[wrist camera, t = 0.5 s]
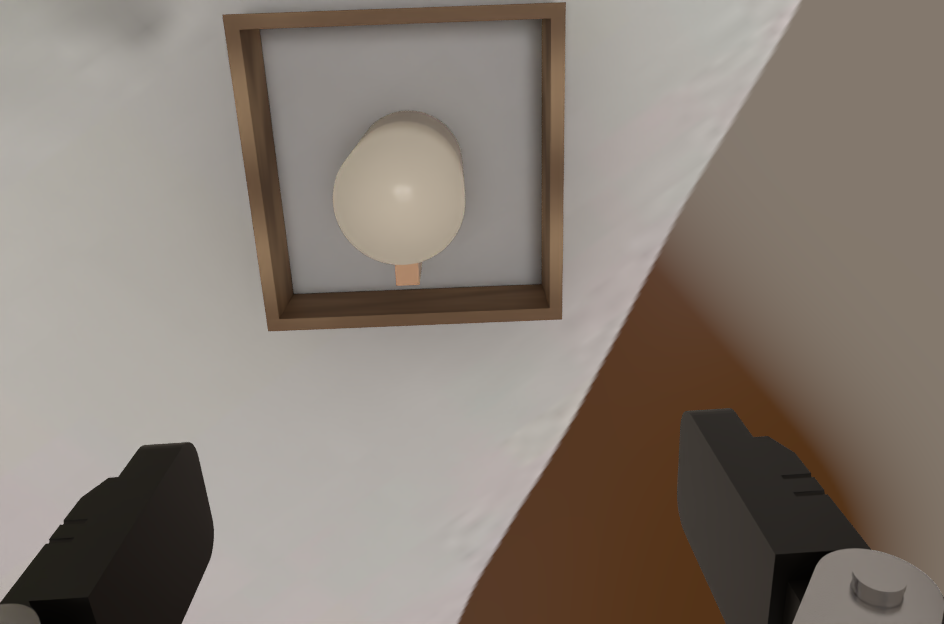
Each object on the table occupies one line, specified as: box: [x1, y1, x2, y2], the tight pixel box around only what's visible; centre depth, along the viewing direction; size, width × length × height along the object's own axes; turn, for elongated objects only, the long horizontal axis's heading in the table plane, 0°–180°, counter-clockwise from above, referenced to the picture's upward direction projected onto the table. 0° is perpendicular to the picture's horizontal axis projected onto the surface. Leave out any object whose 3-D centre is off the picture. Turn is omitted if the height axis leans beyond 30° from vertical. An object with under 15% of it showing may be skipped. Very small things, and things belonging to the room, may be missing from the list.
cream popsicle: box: [333, 111, 465, 286], centre depth 33 cm, size 7×5×8 cm
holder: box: [223, 2, 566, 331], centre depth 35 cm, size 14×14×4 cm
